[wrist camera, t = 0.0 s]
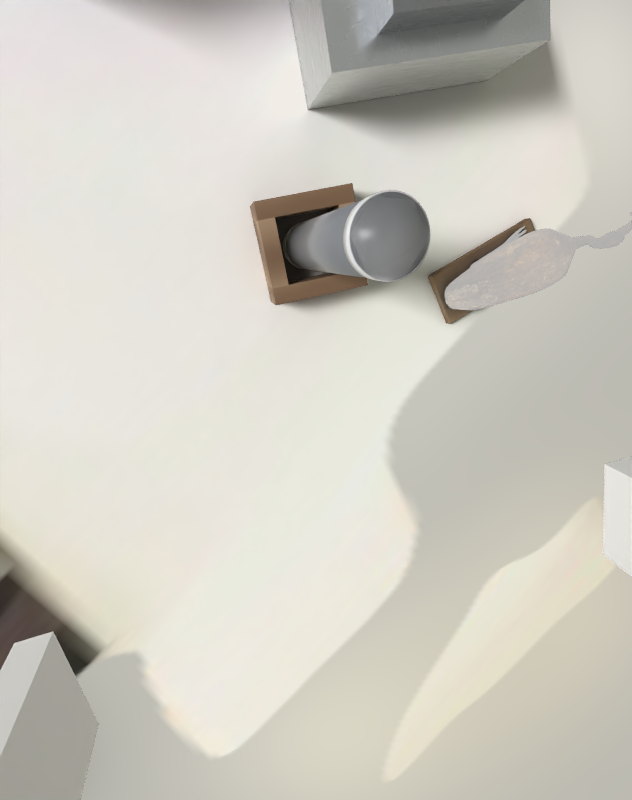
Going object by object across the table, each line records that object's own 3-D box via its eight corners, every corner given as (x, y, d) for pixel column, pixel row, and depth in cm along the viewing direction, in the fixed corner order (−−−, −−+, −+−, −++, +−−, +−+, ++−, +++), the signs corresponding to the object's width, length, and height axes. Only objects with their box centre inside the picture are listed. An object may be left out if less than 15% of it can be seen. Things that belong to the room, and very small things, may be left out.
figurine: (566, 193, 39) (660, 176, 31) (580, 242, 41) (673, 239, 32) (425, 276, 38) (482, 282, 30) (445, 323, 40) (504, 340, 32)
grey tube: (278, 226, 35) (341, 199, 18) (323, 218, 35) (425, 182, 18) (288, 274, 36) (355, 289, 19) (331, 264, 36) (434, 272, 20)
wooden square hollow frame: (250, 206, 34) (253, 201, 31) (341, 189, 35) (352, 183, 32) (271, 301, 36) (276, 305, 33) (355, 282, 37) (367, 284, 34)
